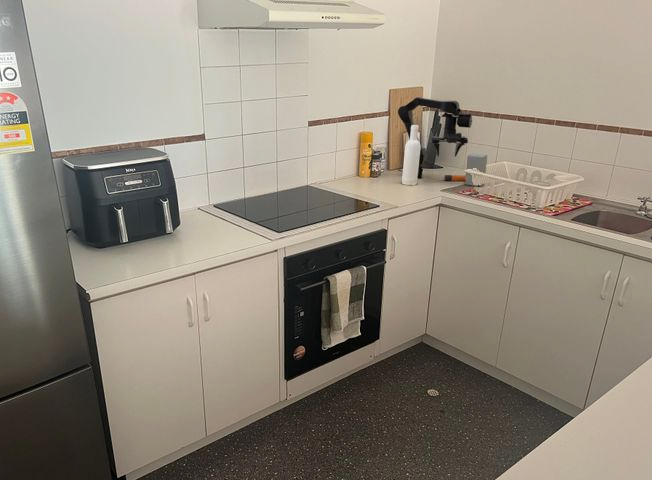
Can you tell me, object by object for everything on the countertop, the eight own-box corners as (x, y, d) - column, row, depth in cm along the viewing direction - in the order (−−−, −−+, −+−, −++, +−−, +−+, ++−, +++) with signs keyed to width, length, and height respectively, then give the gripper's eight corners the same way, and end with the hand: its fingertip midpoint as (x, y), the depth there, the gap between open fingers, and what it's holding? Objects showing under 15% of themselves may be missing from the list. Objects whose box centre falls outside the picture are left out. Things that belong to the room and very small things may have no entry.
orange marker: (445, 181, 296) (446, 175, 295) (444, 179, 299) (444, 174, 297) (472, 181, 296) (473, 176, 295) (470, 179, 299) (471, 174, 297)
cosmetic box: (484, 184, 289) (489, 154, 283) (478, 187, 284) (483, 156, 278) (469, 182, 294) (473, 152, 288) (463, 184, 290) (467, 154, 283)
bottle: (418, 185, 287) (424, 126, 275) (403, 185, 287) (408, 126, 275) (415, 181, 295) (421, 124, 283) (400, 181, 295) (405, 124, 283)
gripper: (436, 128, 279) (432, 159, 285) (472, 128, 279) (468, 159, 285) (430, 125, 289) (427, 155, 295) (466, 125, 289) (462, 155, 295)
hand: (446, 156), depth 292 cm, fingers open, 9 cm apart
